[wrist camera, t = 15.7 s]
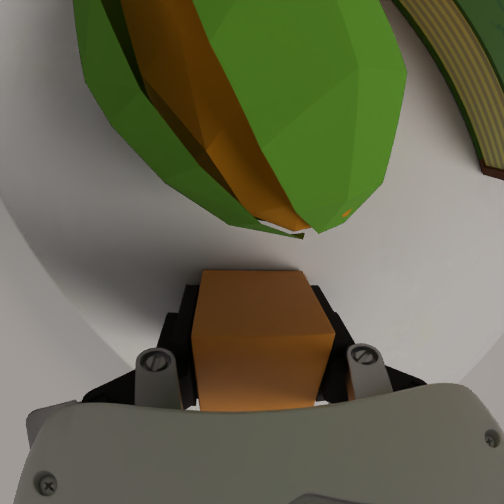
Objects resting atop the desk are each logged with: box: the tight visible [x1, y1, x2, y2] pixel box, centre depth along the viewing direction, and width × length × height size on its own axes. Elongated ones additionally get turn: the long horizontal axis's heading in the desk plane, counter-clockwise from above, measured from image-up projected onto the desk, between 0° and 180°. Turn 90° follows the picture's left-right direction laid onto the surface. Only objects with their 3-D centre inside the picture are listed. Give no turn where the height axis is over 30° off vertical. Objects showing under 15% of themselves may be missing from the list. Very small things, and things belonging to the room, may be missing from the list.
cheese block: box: [191, 270, 335, 411], centre depth 10 cm, size 4×4×4 cm
